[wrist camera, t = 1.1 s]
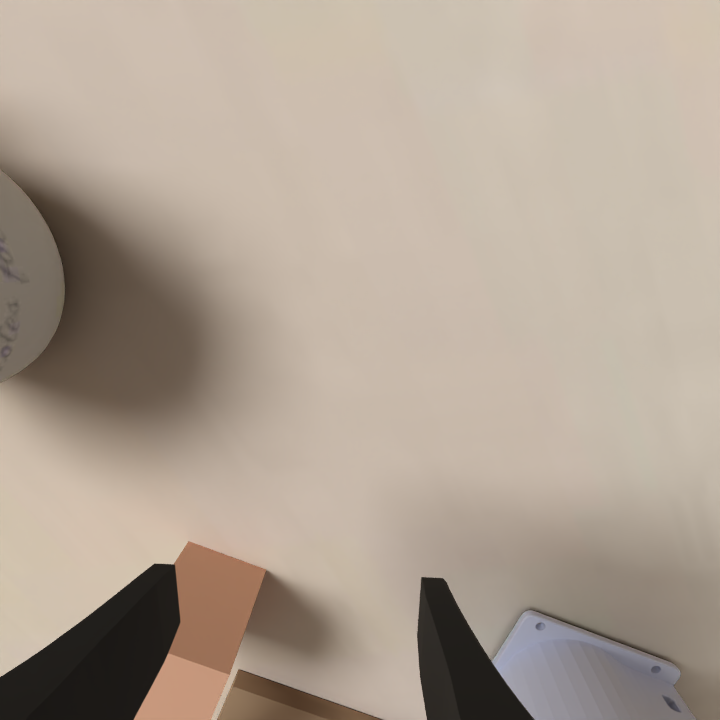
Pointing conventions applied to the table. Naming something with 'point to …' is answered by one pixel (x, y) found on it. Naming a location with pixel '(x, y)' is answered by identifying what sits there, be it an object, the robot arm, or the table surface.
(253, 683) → the board
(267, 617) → the table surface
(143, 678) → the robot arm
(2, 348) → the teacup
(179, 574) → the block
